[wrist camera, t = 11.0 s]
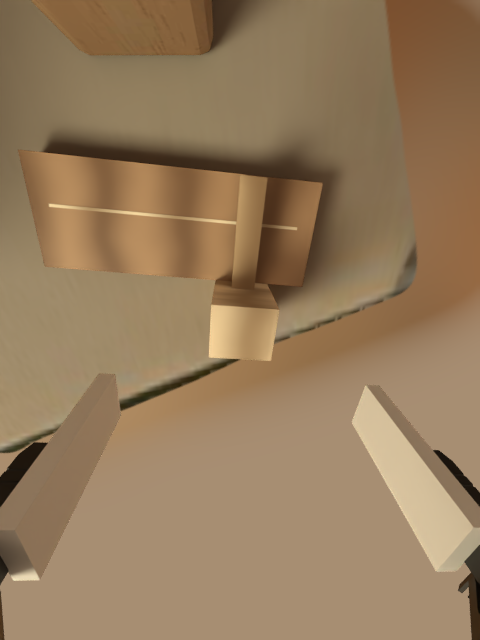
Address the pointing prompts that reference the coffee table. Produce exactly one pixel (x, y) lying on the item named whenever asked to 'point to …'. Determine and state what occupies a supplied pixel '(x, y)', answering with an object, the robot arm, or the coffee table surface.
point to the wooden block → (133, 25)
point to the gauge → (244, 287)
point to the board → (162, 218)
